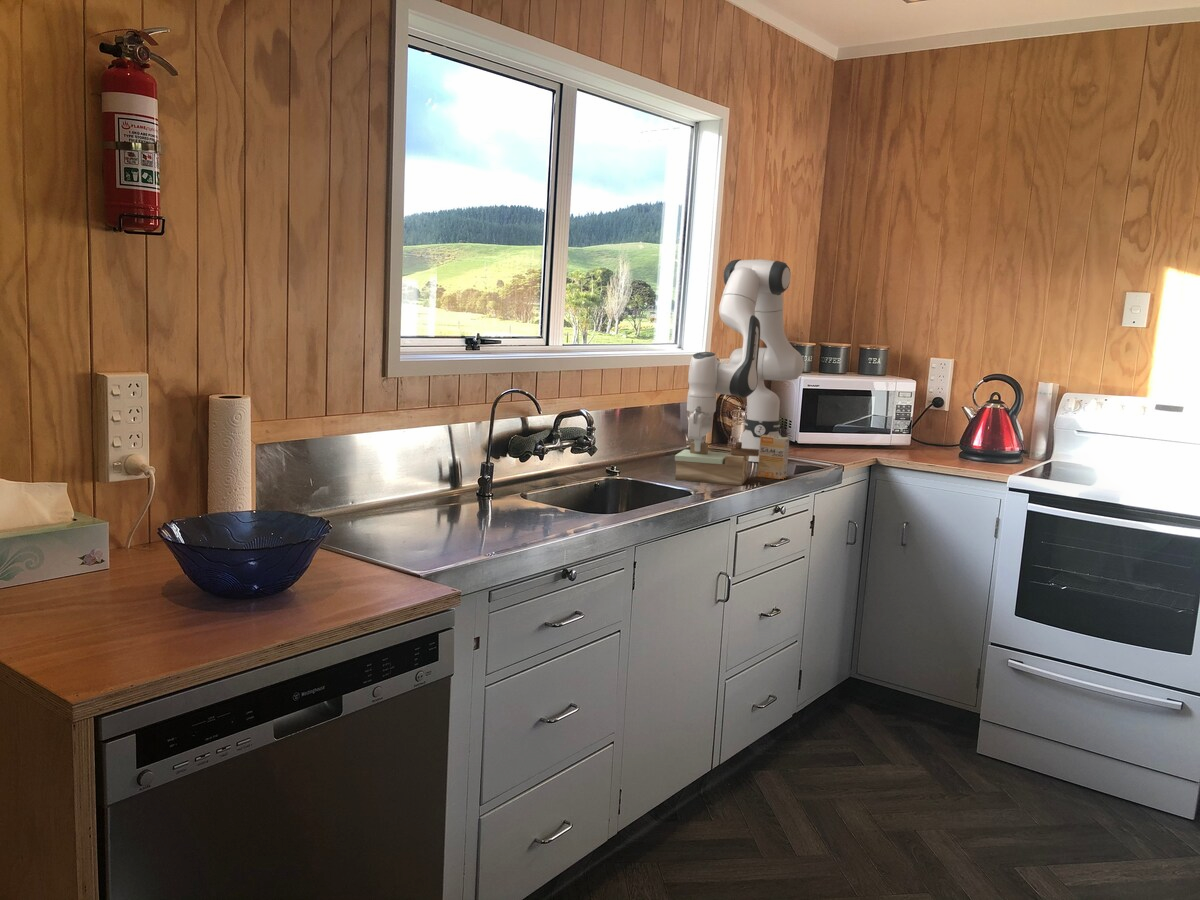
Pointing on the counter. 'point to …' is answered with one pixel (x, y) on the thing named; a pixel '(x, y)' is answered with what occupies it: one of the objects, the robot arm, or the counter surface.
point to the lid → (701, 455)
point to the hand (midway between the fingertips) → (699, 450)
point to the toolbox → (715, 471)
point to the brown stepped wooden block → (744, 450)
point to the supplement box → (773, 457)
